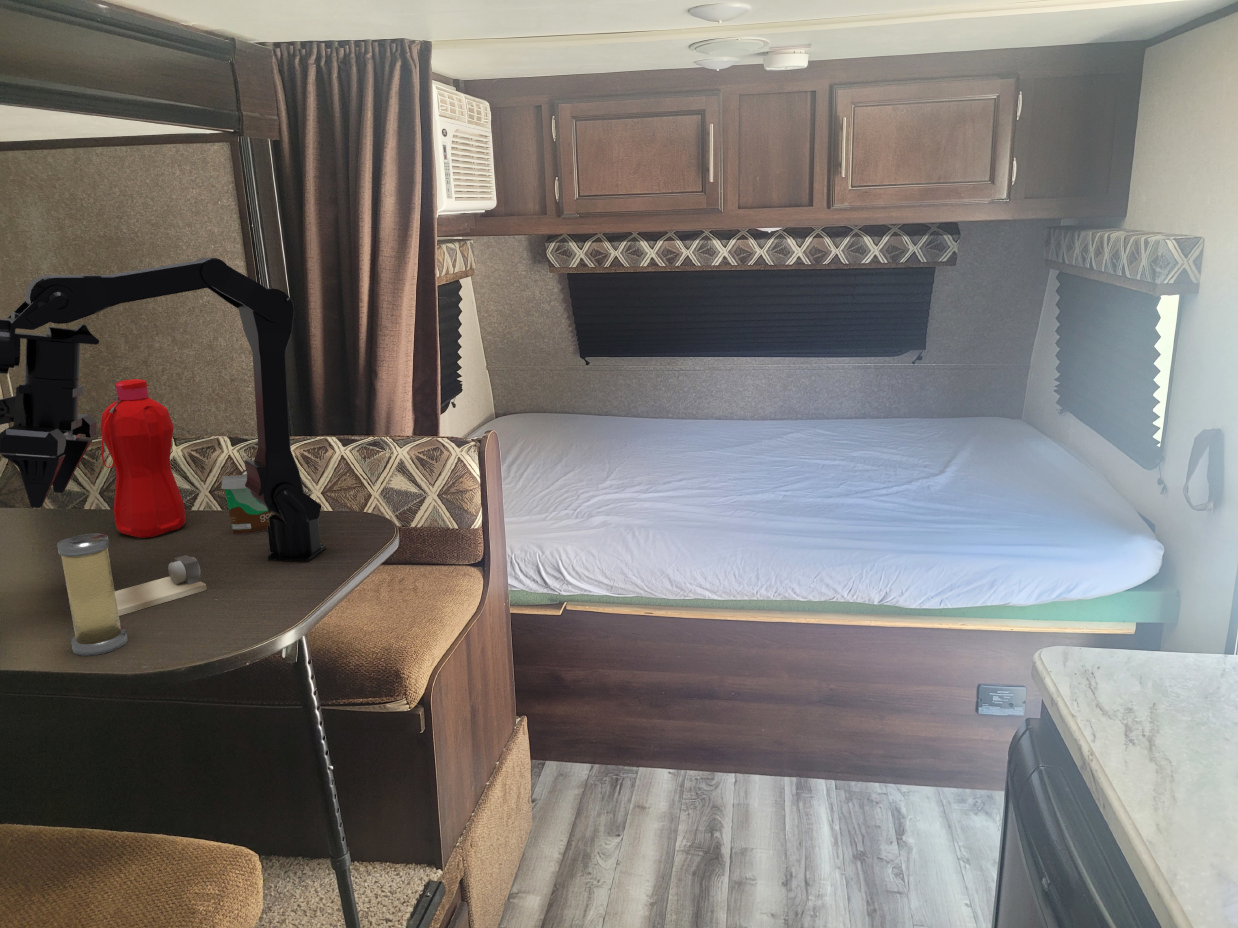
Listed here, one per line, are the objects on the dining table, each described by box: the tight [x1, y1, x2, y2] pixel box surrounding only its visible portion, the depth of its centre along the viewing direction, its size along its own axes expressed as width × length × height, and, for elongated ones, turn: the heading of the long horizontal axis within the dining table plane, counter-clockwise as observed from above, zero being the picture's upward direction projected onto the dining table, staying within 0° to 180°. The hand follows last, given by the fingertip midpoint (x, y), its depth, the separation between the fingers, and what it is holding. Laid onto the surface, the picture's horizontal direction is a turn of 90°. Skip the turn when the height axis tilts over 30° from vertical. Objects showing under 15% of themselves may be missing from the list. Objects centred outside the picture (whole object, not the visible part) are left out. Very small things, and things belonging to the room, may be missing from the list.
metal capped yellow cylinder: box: [56, 533, 128, 657], centre depth 102 cm, size 6×6×13 cm
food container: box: [221, 469, 274, 535], centre depth 146 cm, size 12×6×10 cm, turn 170°
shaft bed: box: [115, 554, 208, 617], centre depth 116 cm, size 15×7×4 cm, turn 139°
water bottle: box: [99, 378, 187, 539], centre depth 141 cm, size 9×11×25 cm
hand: (47, 499), depth 111 cm, fingers open, 9 cm apart
